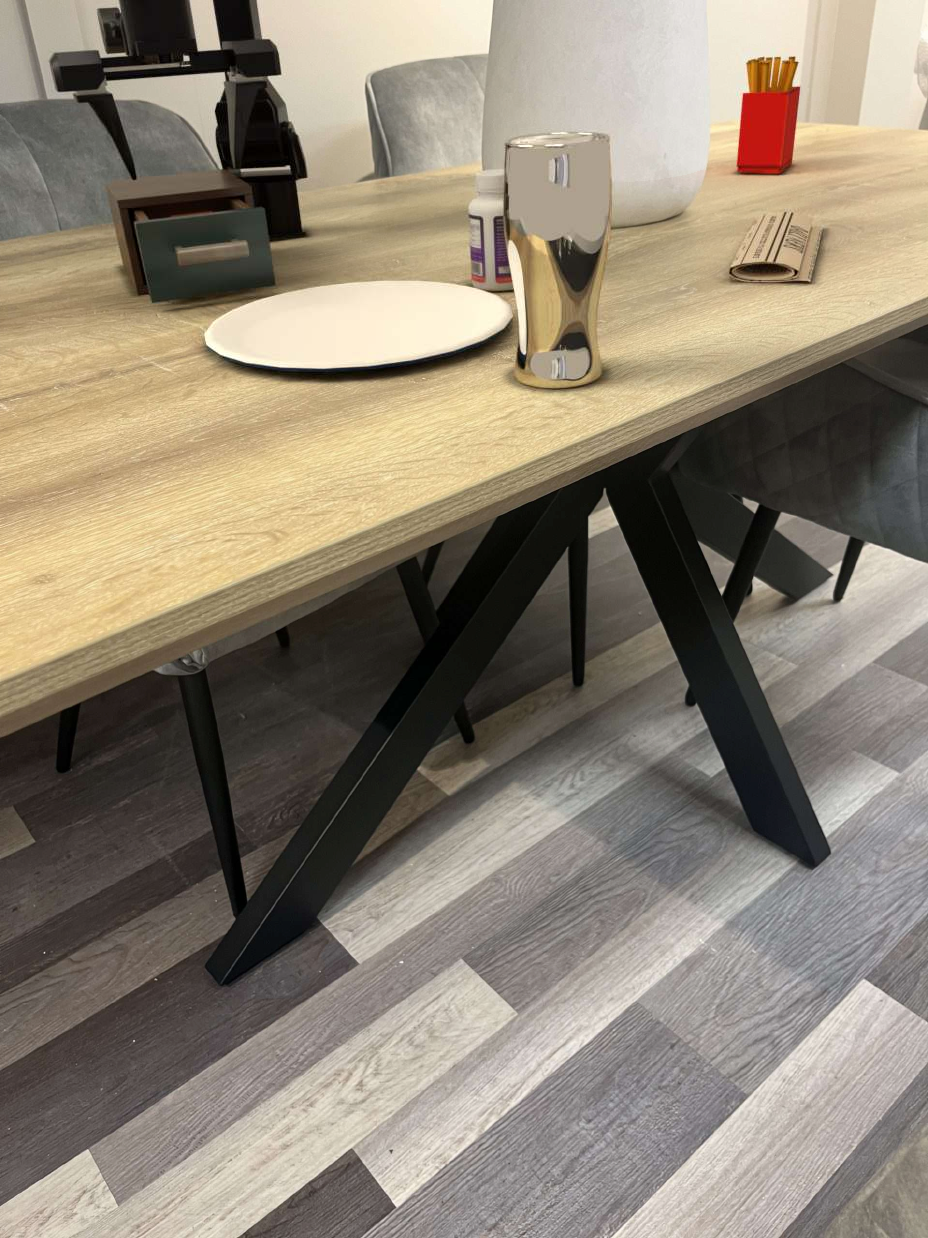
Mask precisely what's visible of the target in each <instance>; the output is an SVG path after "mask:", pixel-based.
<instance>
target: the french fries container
mask: <svg viewBox="0 0 928 1238" xmlns="http://www.w3.org/2000/svg"><path fill="white" fill-rule="evenodd" d="M796 56H797V55H796ZM796 56H788V59H785V60H783V59H782V57H781V56H774V58H773V57H770V56H769V57H765V56H761V57H756V58H753V59H749V60H747V61H746V62H745V65H746V73H747V82H748V83H747V84H748V92H743V93H742V96H741V97H742V98H741V99H742V100H741V109H740V120H739V122H740V123H739V134H738V144H737V157H736V168H737V170H736V172H737V173H741V174H781V173H783V172H784V171H786V169H787V168H789V167H790V166H791V165H792V164H793V157H794V150H795V149H794V147H795V139H796V130H797V121H798V112H799V104H800V94H801V87H802V86H793V85H794V84H793V82H794V79H795V75H796V72H797V69H798V65H799V63H800V62H799V61H797V60H796ZM781 59H782V61H781Z"/></svg>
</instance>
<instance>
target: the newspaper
mask: <svg viewBox="0 0 928 1238" xmlns="http://www.w3.org/2000/svg"><path fill="white" fill-rule="evenodd" d="M813 221H814V218H812V217H810V216H808V215H806V214H804V213H801V212H800V213H799V212H794V211H793V212H792V211H791V212H790V211H775V212H769V213H765V214H761V215H758V216H755V218H754V220H753V222H752V223H751V226H750V227H749V230H748V231H747V234H745V237H744V238H743V241H742V243H741V245H740V247H739V248H738V250H737V252H736V254H735V256H734V258H733V259H732V262H731V264H730V266H729V268H728V273H727V275H729V276H730V277H731V278H732V279H734V280H738V281H742V282H745V283H781V282H782V283H783V282H793V281H795V282H796V281H799V282H801V281H805V282H809V283H811V282H812V277H813V273H814V269H815V264H816V260H817V255H818V251H819V247H820V242H821V238H822V234H823V229H824V228H823V227H821V226H813Z"/></svg>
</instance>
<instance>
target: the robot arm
mask: <svg viewBox="0 0 928 1238" xmlns="http://www.w3.org/2000/svg"><path fill="white" fill-rule="evenodd" d="M118 3H119V7H116V6H115V7H98V8H97V9H96V12H97V13H96V14H97V20H98V25H99V28H100V30H99V31H100V34H101V39H102V43H103V47H104V51H105V53H106V55H115V54H125V55H121V56H106V57H101V55H100V51H99V49H98V50H97V49H87V50H73V51H71V50H70V51H57V52H52V55H51V57H50V58H49V60H48V63H49V68H50V72H51V76H52V81H53V85H54V90H55V91H56V92H57V93H71V92H73V93H72V97H73V101H75V102H76V104H85V103H86V104H88V105H89V107H90V108H91V110H92V111H93V112H94V114H95V116H96V117H97V118H98V120H99V121H100V123H101V124H102V126H103V128H104V129H105V131H106V132H107V134H108V136H109V138H110V140H111V142H112V144H113V145H114V148H115V149H116V152H117V154H118V155H119V157H120V159H121V162H122V163H123V165H124V167H125V169H126V171H127V173H128V175H129V177H130V179H132V180H137V178H138V176H137V172H136V166H135V162H134V158H133V155H132V152H131V148H130V145H129V143H128V139H127V136H126V133H125V130H124V127H123V123H122V119H121V116H120V114H119V111H118V106H117V105H116V101H115V97H114V96H113V93H112V92H110V91H108V90H107V88H106V86H108V82H112V81H126V80H127V81H128V80H139V79H152V78H153V79H154V78H166V77H179V76H192V75H207V74H219V73H224V78H225V79H224V80H225V81H223V86H224V88H223V90H222V94H221V96H220V99H219V101H217V102H216V104H215V108H214V116H215V120H216V125H217V126H216V127H215V133H214V134H215V145H216V150H217V153H218V157H219V161H220V164H221V169H225V170H227V171H228V172H230V173H231V174H233V175H235V176H236V177H238V178H239V179H241V180H243V181H244V182H246V183H247V184H249V185H251V189H252V195H253V202H254V208H255V207H263V208H264V209H265V215H266V222H267V228H268V235H269V241H271V240H280V239H288V238H294V237H304V236H306V235H307V230H306V229H304V228H303V225H302V216H301V210H300V203H299V202H300V201H299V195H298V187H297V182H298V181H300V180H303V179H307V178H308V177H309V176H308V168H307V162H306V157H305V154H304V150H303V146H302V143H301V140H300V136H299V135H298V134H297V132H296V130H295V126H294V124H293V122H292V121H290V120H289V115H288V109H287V104H286V102H285V101H284V99H283V98H282V96H281V95H280V93H279V92H278V91H277V89H276V88H275V86H274V85H273V84H272V83H271V81H270V79H269V77H275V76H277V77H278V76H282V67H281V60H280V53H279V49H278V46H277V45H276V44H275V43H274V41H272V40H271V39H270V38H263V35H262V29H261V20H260V14H259V6H258V0H212V5H213V11H214V17H215V24H216V30H217V35H218V41H219V49H211V50H210V49H209V50H199V48H198V47H199V46H198V42H197V36H196V30H195V24H194V18H193V13H192V6H191V0H118ZM119 8H120V9H119ZM184 57H188V59H189V60H185V58H184ZM288 166H289V169H287V168H286V167H288ZM271 168H272V169H271ZM273 168H286V169H273ZM251 169H252V170H251ZM253 169H265V170H253ZM268 169H270V170H268ZM242 170H244V171H242ZM245 170H248V171H245Z"/></svg>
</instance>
